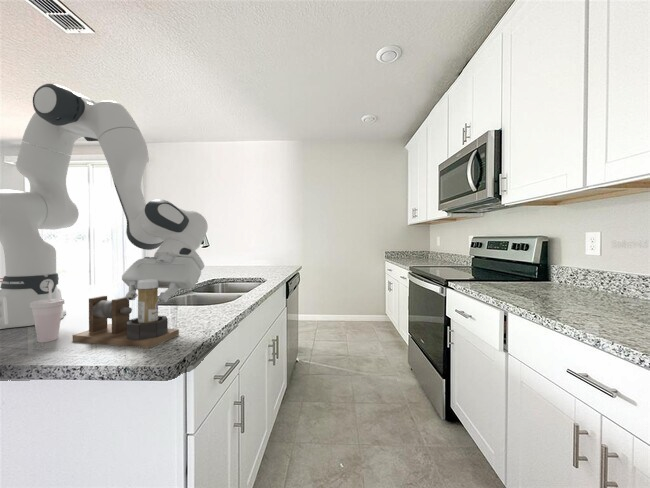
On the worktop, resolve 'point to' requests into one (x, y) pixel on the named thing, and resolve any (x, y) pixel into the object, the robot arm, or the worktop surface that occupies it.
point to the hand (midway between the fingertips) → (145, 299)
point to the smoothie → (47, 317)
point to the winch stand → (122, 326)
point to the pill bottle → (147, 301)
